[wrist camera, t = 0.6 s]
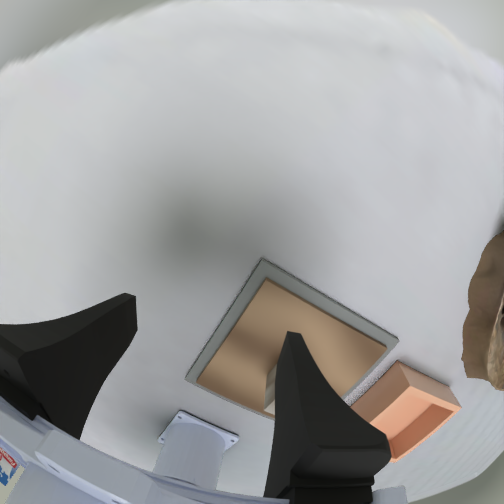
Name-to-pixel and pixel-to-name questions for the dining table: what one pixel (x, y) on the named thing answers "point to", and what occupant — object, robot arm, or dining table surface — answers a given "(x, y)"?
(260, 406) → the lid
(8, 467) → the milk carton
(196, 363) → the mat
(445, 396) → the pink shallow tray
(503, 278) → the food dish
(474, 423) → the dining table surface
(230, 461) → the dining table surface
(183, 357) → the dining table surface
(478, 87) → the dining table surface
